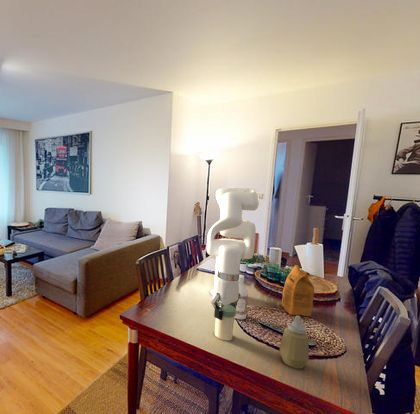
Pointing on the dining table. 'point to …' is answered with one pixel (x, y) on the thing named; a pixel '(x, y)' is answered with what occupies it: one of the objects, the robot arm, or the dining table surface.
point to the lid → (228, 310)
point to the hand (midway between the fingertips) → (224, 315)
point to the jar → (224, 328)
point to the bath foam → (242, 300)
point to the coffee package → (298, 293)
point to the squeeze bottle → (295, 344)
